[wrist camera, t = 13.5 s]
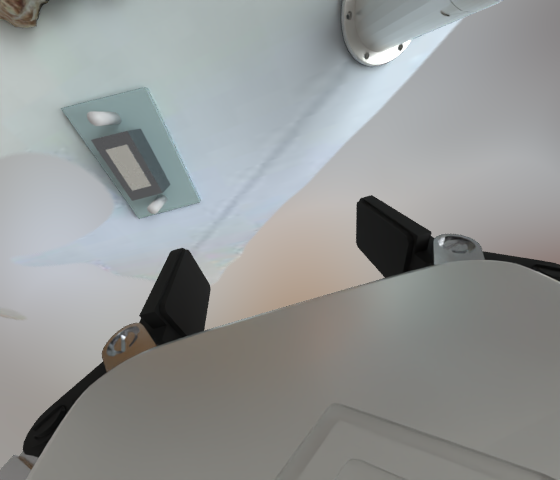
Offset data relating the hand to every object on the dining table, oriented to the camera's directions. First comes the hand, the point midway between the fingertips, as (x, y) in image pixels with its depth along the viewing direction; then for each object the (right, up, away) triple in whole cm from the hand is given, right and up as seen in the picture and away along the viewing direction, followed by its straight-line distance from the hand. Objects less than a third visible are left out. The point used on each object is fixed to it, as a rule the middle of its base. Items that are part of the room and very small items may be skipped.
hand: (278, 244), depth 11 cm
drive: (-23, +13, +22) cm, 34 cm away
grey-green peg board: (-23, +14, +23) cm, 35 cm away
